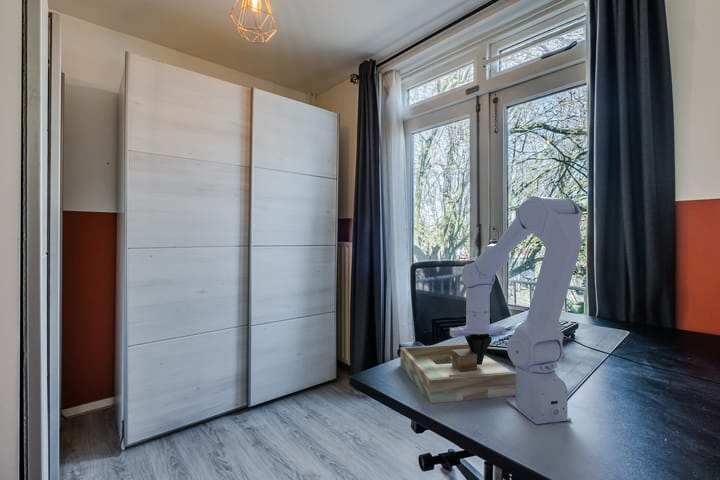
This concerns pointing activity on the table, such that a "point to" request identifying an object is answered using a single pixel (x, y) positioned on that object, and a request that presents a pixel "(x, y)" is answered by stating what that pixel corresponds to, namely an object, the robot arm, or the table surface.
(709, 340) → the table surface
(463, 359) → the block
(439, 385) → the board
